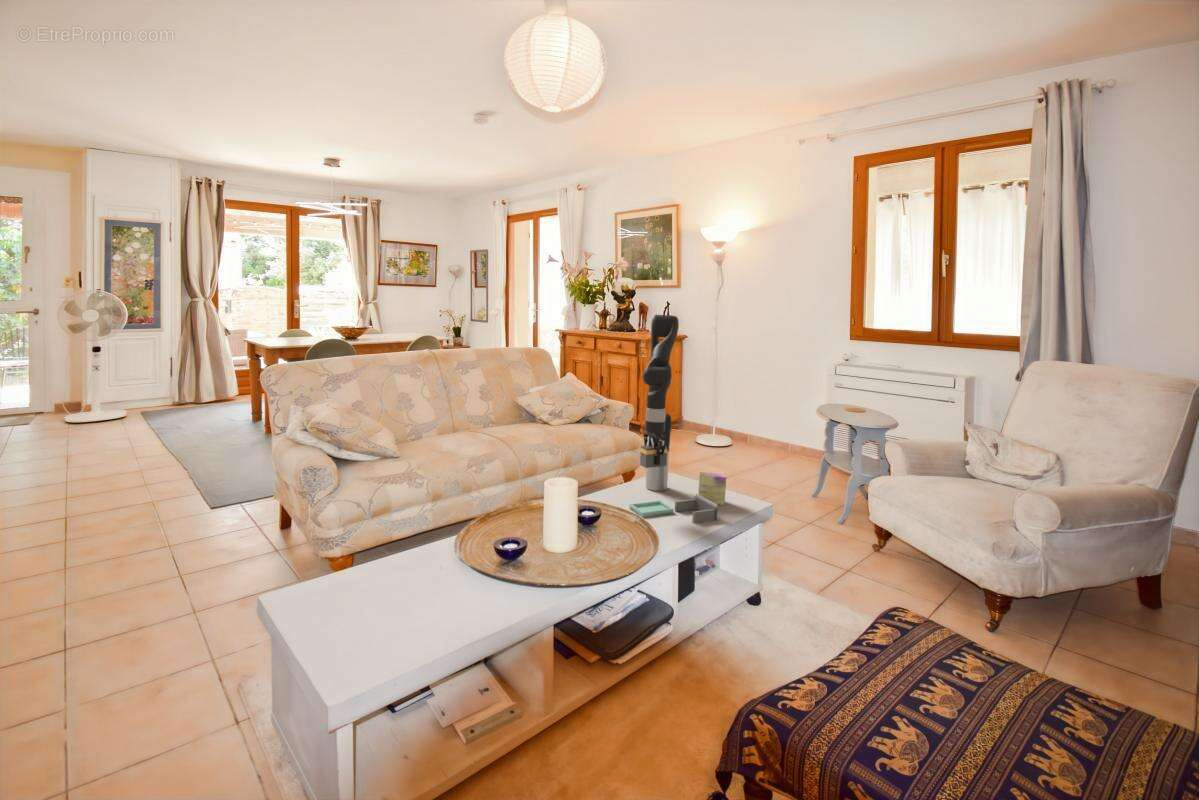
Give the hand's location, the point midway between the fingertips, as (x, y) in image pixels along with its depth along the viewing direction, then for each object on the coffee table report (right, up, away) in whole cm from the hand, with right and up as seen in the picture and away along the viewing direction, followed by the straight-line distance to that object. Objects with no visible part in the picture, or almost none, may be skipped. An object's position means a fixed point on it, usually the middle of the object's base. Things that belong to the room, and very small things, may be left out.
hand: (653, 462), depth 227 cm
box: (+25, -18, +15) cm, 34 cm away
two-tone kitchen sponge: (0, -1, 0) cm, 1 cm away
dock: (+16, -20, -1) cm, 26 cm away
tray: (-1, -19, +3) cm, 19 cm away
